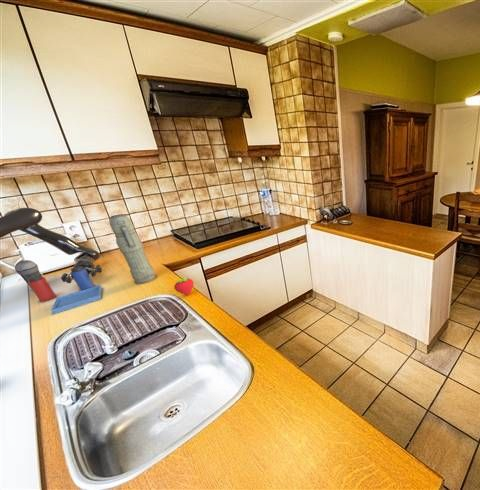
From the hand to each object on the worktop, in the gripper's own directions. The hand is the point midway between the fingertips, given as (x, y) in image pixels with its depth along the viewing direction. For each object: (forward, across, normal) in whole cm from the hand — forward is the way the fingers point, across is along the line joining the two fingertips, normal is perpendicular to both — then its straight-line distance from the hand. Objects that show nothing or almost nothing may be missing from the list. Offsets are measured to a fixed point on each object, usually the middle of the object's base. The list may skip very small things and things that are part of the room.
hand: (80, 278), depth 129 cm
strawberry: (+43, +37, +7) cm, 57 cm away
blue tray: (+10, -2, +7) cm, 12 cm away
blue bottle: (-2, 0, +7) cm, 7 cm away
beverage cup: (-24, -20, +7) cm, 32 cm away
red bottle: (-4, -14, +7) cm, 16 cm away
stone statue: (+9, +23, +7) cm, 26 cm away
